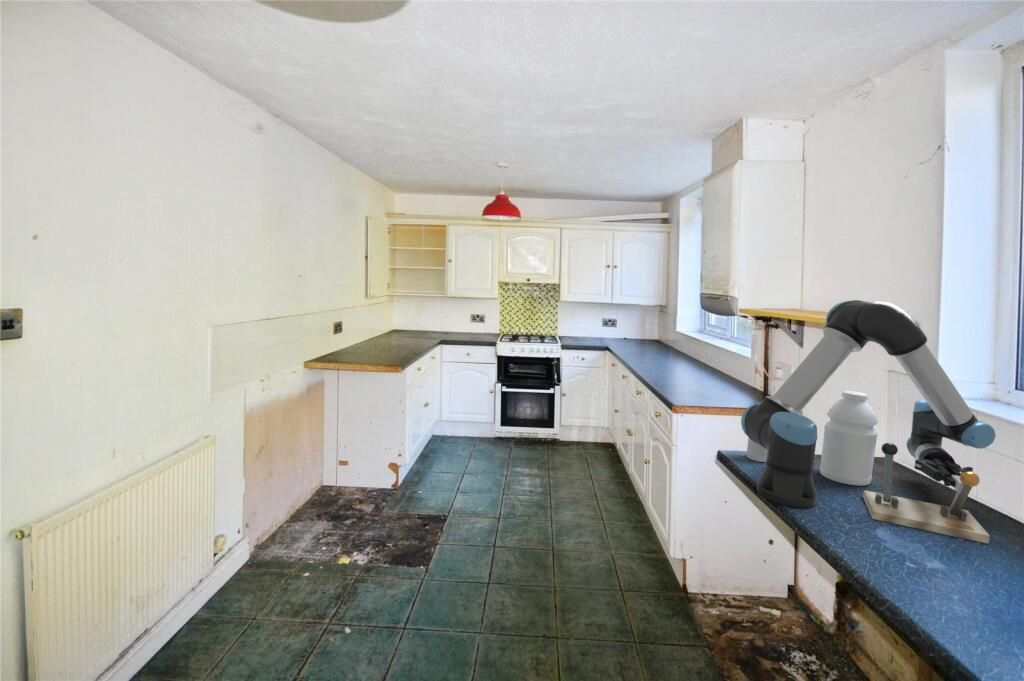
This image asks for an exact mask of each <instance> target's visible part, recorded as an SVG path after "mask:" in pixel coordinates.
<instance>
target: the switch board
mask: <svg viewBox="0 0 1024 681" xmlns="http://www.w3.org/2000/svg"><path fill="white" fill-rule="evenodd" d="M862 497H863V500H864V502H865V505H866V507H867V509H868V513H869V514H870V517H871V519H873V520H876V521H880V522H885V523H890V524H896V525H901V526H904V527H905V526H906V527H909V528H914V529H919V530H923V531H928V532H933V533H937V534H942V535H947V536H951V537H955V538H959V539H965V540H970V541H973V542H974V541H975V542H978V543H983V544H989V543H990V538H991V535H990V534H989V533H988V532H987V531H986V530H985V529H984V527H983V526H982V525H981V524H980V523H979V521H977V519H976V518H975V517H974V516H973V515H972V514H971V513H970V511H969V510H967V509H963V508H961V510H960V512H959V514H958V516H954V515H950V514H949V507H950V506H948V505H942V504H937V503H932V502H927V501H923V500H916V499H910V498H905V497H902V496H900V497H899V496H894V495H891V501H890V503H889V502H884V501H883V493H882V492H881V493H879V492H874V491H869V490H864V489H863V494H862Z"/></svg>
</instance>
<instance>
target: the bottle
mask: <svg viewBox="0 0 1024 681" xmlns="http://www.w3.org/2000/svg"><path fill="white" fill-rule="evenodd" d="M841 397H842V398H840V399H839V400H838V401H836V402H835V403H834V404H832V406H831V407H830V409H829V410H828V412H827V413H826V415H827V416H828V417H829V419H830V420H829V421H828V422H826V423H825V425H824V429H823V430H824V431H823V439H822V440H823V442H822V447H821V448H822V449H821V457H820V466H819V473H820V475H822V476H823V477H824V478H826V479H828V480H830V481H831V480H832V481H834V482H837V483H840V484H845V485H850V486H868V485H870V484H871V482H872V480H873V475H872V474H873V468H874V460H875V453H876V446H877V439H878V434H879V433H878V431H877V430H876V429H875V427H874V426H875V425H877V424H878V422H879V420H878V416H877V413H876V412H875V410H874V408H873V407H872V406H871V405H870V404H869V403H868V402H867V401H868V399H869V395H868V394H867V393H865V392H861V391H854V390H843V391H842V394H841Z"/></svg>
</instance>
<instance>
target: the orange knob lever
mask: <svg viewBox="0 0 1024 681" xmlns="http://www.w3.org/2000/svg"><path fill="white" fill-rule="evenodd" d="M960 481H961V484H960V486H959V488H958V491H956V493H955V495H954V497H953V499H952V502H951V503H950V505H949V506H948V507H949V514H950V515H954V516H958V514H959V512H960V510H961V509H963V506H964V504H965V502H966V500H967V498H968V496H969V494H970V493H971V490H972V489H973V487H977V486H978V485H979V484H980V477H979V475H977V473H975V472H969V471H967V472H963V473H962V474H961V475H960Z"/></svg>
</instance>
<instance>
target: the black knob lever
mask: <svg viewBox="0 0 1024 681" xmlns="http://www.w3.org/2000/svg"><path fill="white" fill-rule="evenodd" d="M880 450H881V452H882V453H883V454H884V465H883V482H882V483H883V484H882V485H883V486H882V487H883V488H882V494H883V501H884V502H889V503H890V501H891V496H892V489H893V472H894V471H893V470H894V456H895V455H897V453H898V452H899V450H898V447H897V445H896V444H894V443H893V442H885V443H883V444H882V445H881V449H880Z"/></svg>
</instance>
